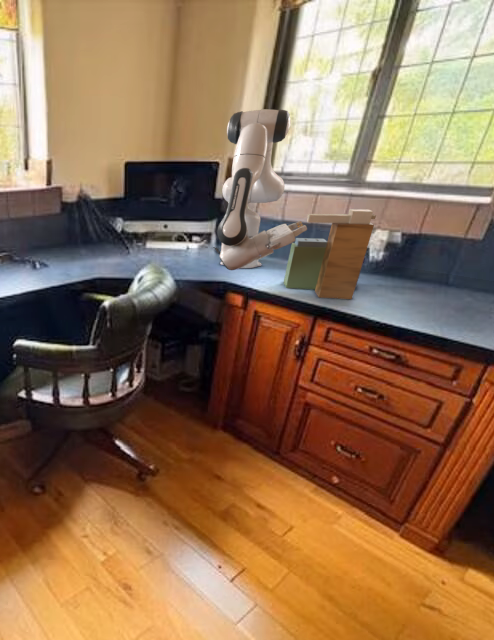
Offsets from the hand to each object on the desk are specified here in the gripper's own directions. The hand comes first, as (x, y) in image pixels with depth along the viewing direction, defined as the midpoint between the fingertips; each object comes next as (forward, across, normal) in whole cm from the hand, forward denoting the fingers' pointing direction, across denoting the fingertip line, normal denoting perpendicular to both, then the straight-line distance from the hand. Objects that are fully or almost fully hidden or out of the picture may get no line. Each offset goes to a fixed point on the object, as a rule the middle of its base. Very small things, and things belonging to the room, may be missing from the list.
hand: (304, 224), depth 151 cm
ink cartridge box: (+8, +15, +34) cm, 38 cm away
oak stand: (+1, 0, +29) cm, 29 cm away
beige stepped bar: (+11, 0, +5) cm, 12 cm away
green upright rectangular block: (-8, +11, +24) cm, 28 cm away
